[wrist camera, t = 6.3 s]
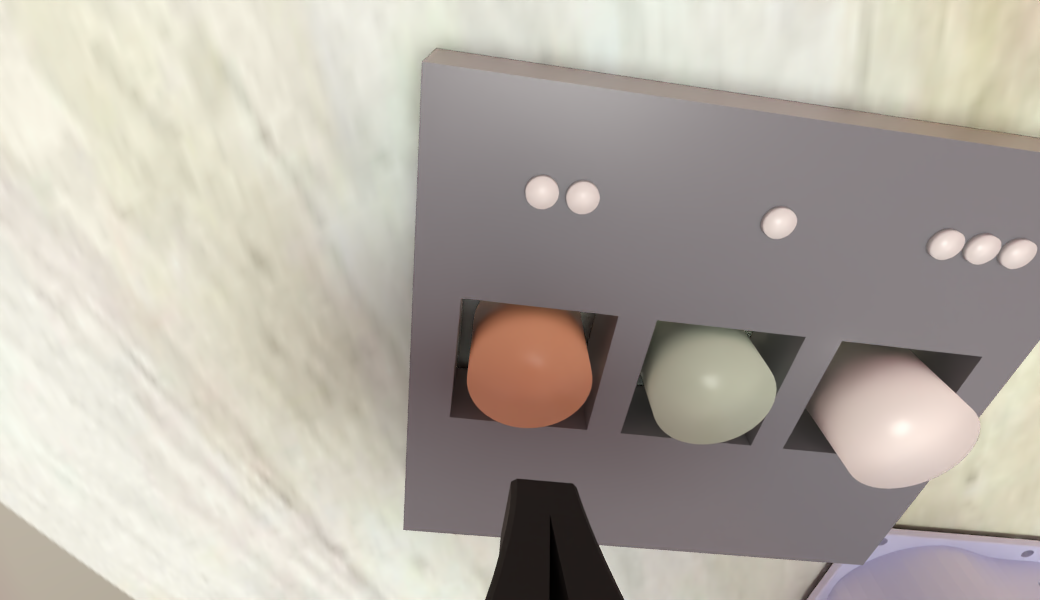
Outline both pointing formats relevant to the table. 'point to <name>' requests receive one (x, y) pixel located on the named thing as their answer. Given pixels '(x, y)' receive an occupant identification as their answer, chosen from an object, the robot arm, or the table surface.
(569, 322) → the button terracotta
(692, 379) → the button green
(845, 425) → the button white
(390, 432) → the table surface
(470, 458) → the button panel
